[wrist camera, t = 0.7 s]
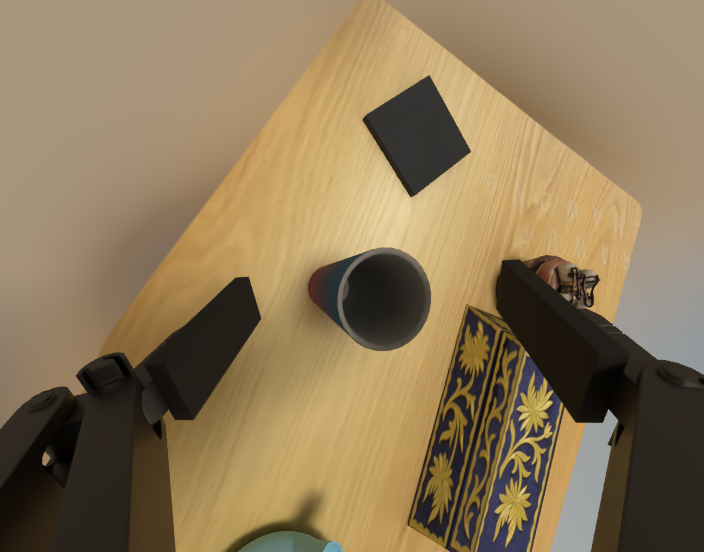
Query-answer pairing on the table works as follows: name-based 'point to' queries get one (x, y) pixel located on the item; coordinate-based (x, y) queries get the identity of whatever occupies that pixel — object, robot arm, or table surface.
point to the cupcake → (564, 279)
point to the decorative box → (488, 445)
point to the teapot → (290, 543)
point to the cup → (374, 297)
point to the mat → (417, 135)
